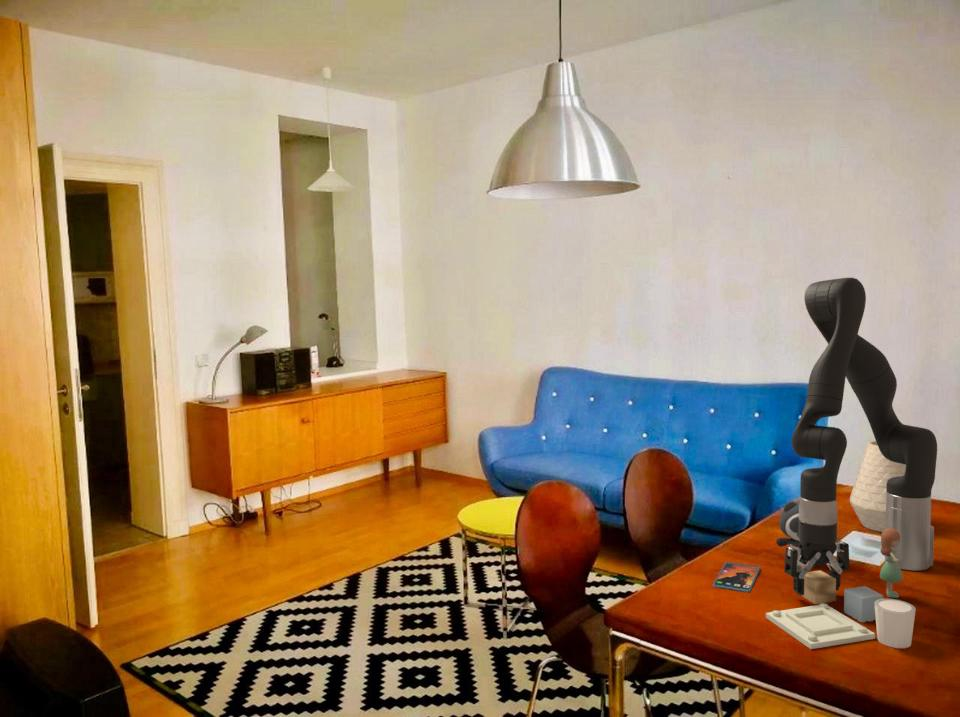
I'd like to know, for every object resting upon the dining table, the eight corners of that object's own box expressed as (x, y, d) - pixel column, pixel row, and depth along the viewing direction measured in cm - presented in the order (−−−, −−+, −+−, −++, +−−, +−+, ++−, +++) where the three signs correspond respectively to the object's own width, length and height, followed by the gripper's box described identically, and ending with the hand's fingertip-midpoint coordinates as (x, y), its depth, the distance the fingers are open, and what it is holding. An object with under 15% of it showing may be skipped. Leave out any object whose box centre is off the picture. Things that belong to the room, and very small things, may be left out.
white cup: (865, 634, 146) (866, 599, 145) (899, 631, 146) (900, 596, 146) (887, 651, 139) (888, 614, 138) (923, 648, 139) (924, 612, 139)
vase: (855, 513, 218) (856, 434, 216) (925, 522, 208) (927, 440, 206) (843, 530, 204) (844, 446, 202) (917, 541, 194) (919, 453, 192)
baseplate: (825, 608, 157) (825, 600, 157) (874, 638, 144) (875, 629, 144) (765, 617, 154) (765, 609, 154) (810, 649, 141) (810, 639, 140)
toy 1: (786, 570, 178) (787, 508, 176) (769, 554, 188) (769, 496, 187) (835, 568, 178) (836, 506, 177) (815, 553, 188) (816, 494, 187)
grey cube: (864, 609, 157) (865, 586, 156) (882, 619, 152) (883, 595, 151) (844, 612, 155) (844, 589, 155) (861, 622, 151) (861, 598, 150)
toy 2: (909, 610, 155) (911, 539, 154) (886, 608, 156) (887, 538, 155) (894, 585, 168) (896, 519, 166) (873, 583, 169) (874, 518, 168)
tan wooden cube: (820, 592, 166) (820, 570, 165) (835, 601, 161) (836, 578, 160) (800, 595, 164) (800, 573, 164) (815, 604, 160) (815, 581, 159)
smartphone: (711, 585, 170) (725, 561, 183) (712, 591, 170) (725, 566, 183) (749, 589, 166) (760, 565, 179) (750, 595, 166) (761, 570, 179)
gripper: (834, 510, 166) (833, 581, 168) (777, 516, 163) (776, 588, 165) (859, 520, 159) (857, 594, 160) (799, 526, 156) (798, 602, 157)
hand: (816, 591), depth 162 cm, fingers open, 8 cm apart
